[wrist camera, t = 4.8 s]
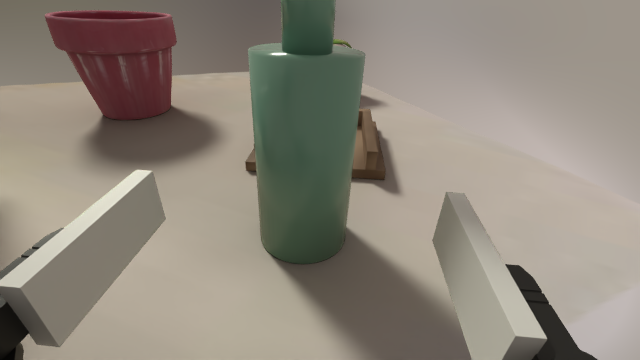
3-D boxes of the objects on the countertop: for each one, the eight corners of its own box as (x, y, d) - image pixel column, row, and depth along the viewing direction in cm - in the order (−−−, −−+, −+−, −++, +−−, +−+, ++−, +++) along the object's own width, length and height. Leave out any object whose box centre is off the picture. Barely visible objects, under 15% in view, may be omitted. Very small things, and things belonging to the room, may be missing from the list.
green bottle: (250, 259, 21) (218, -93, 12) (270, 205, 27) (258, -65, 17) (344, 267, 21) (387, -86, 12) (345, 211, 27) (373, -60, 17)
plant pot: (187, 122, 43) (167, 18, 37) (66, 131, 39) (20, 16, 33) (189, 94, 55) (174, 11, 48) (97, 99, 51) (67, 9, 44)
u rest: (246, 170, 32) (243, 143, 30) (274, 122, 44) (273, 101, 42) (384, 179, 31) (388, 152, 30) (374, 128, 43) (377, 107, 42)
